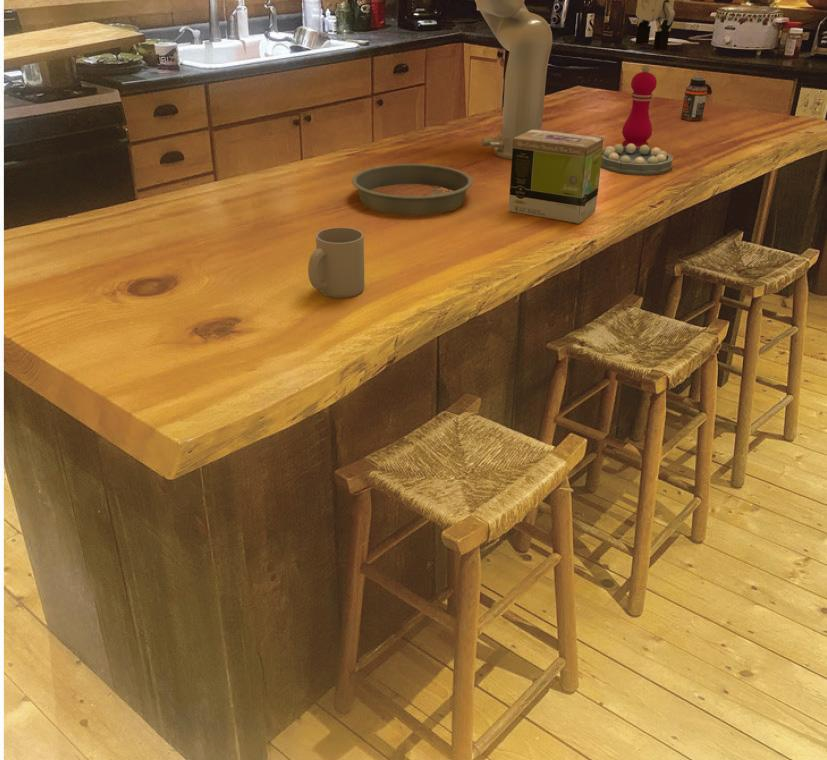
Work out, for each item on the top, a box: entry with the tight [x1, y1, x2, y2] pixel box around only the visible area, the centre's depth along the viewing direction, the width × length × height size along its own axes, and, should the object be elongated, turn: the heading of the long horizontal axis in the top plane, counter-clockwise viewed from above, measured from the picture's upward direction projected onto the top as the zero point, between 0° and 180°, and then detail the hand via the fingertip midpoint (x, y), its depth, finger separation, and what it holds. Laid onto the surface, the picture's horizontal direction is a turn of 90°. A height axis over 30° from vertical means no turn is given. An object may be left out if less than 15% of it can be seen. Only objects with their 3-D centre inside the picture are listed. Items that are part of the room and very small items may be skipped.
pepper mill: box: [621, 64, 658, 147], centre depth 204 cm, size 7×7×20 cm
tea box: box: [508, 129, 605, 224], centre depth 162 cm, size 15×10×15 cm
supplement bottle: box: [680, 76, 708, 122], centre depth 237 cm, size 6×6×11 cm
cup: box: [307, 226, 365, 299], centre depth 127 cm, size 7×10×9 cm
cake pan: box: [351, 163, 473, 217], centre depth 171 cm, size 25×25×4 cm
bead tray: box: [600, 143, 674, 177], centre depth 195 cm, size 17×17×4 cm
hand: (650, 46), depth 197 cm, fingers open, 9 cm apart
